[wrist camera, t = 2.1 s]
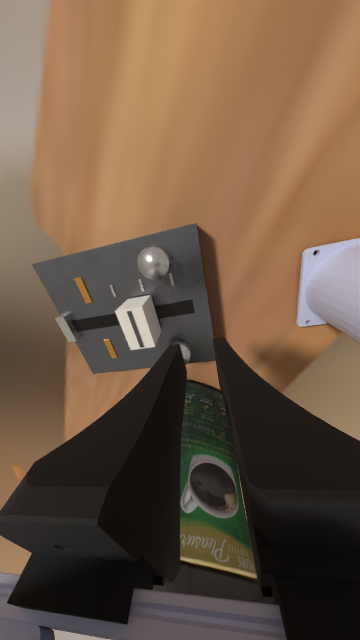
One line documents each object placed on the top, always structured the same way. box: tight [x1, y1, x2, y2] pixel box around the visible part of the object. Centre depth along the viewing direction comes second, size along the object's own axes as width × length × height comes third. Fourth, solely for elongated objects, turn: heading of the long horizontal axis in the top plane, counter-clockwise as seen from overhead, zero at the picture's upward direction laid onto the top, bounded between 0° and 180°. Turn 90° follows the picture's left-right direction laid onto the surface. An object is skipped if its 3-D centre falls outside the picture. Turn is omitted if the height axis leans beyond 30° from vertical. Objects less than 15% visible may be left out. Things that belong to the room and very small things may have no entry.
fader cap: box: [115, 295, 161, 350], centre depth 16 cm, size 2×4×3 cm, turn 12°
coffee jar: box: [153, 381, 262, 603], centre depth 17 cm, size 10×8×19 cm
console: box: [32, 223, 216, 374], centre depth 18 cm, size 16×14×3 cm
